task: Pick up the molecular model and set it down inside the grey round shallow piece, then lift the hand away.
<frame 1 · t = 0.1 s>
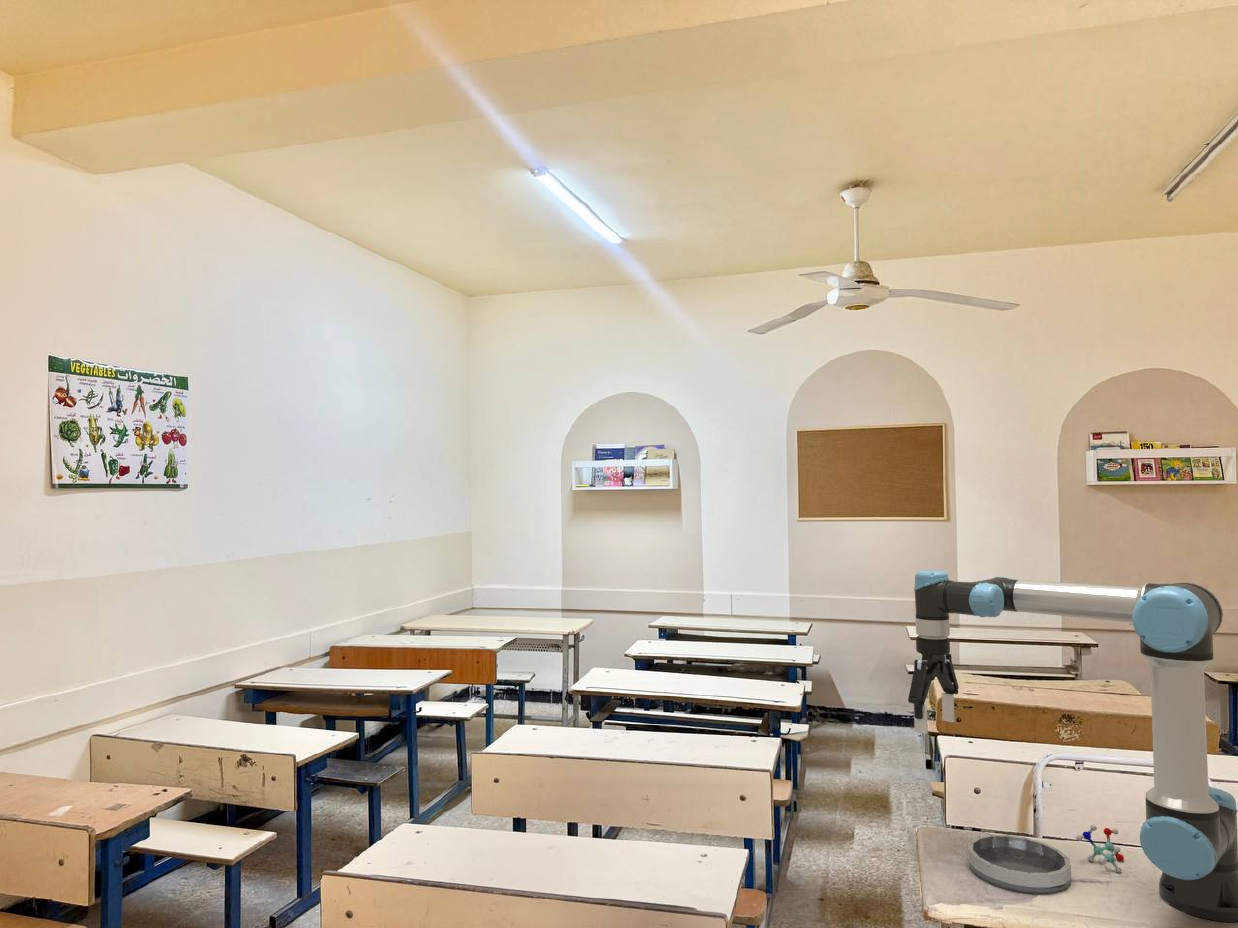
hand: (935, 726, 191), 28 cm above the table, tool pointing down, fingers open, 13 cm apart
grey round shallow piece: (1018, 872, 177), on the table
molecular model: (1102, 864, 181), on the table
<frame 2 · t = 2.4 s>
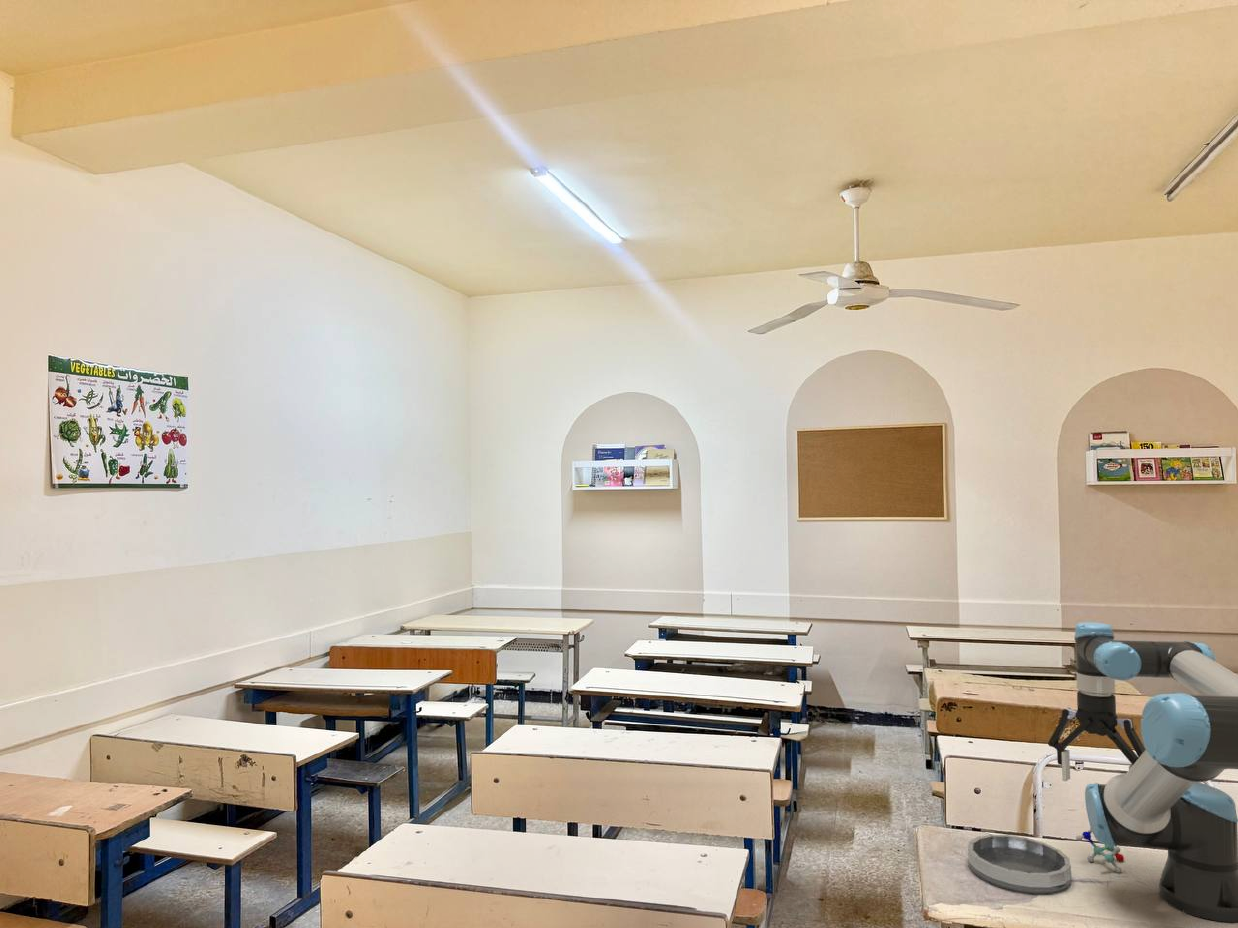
hand: (1099, 787, 182), 17 cm above the table, tool pointing down, fingers open, 13 cm apart
nothing on the table moved.
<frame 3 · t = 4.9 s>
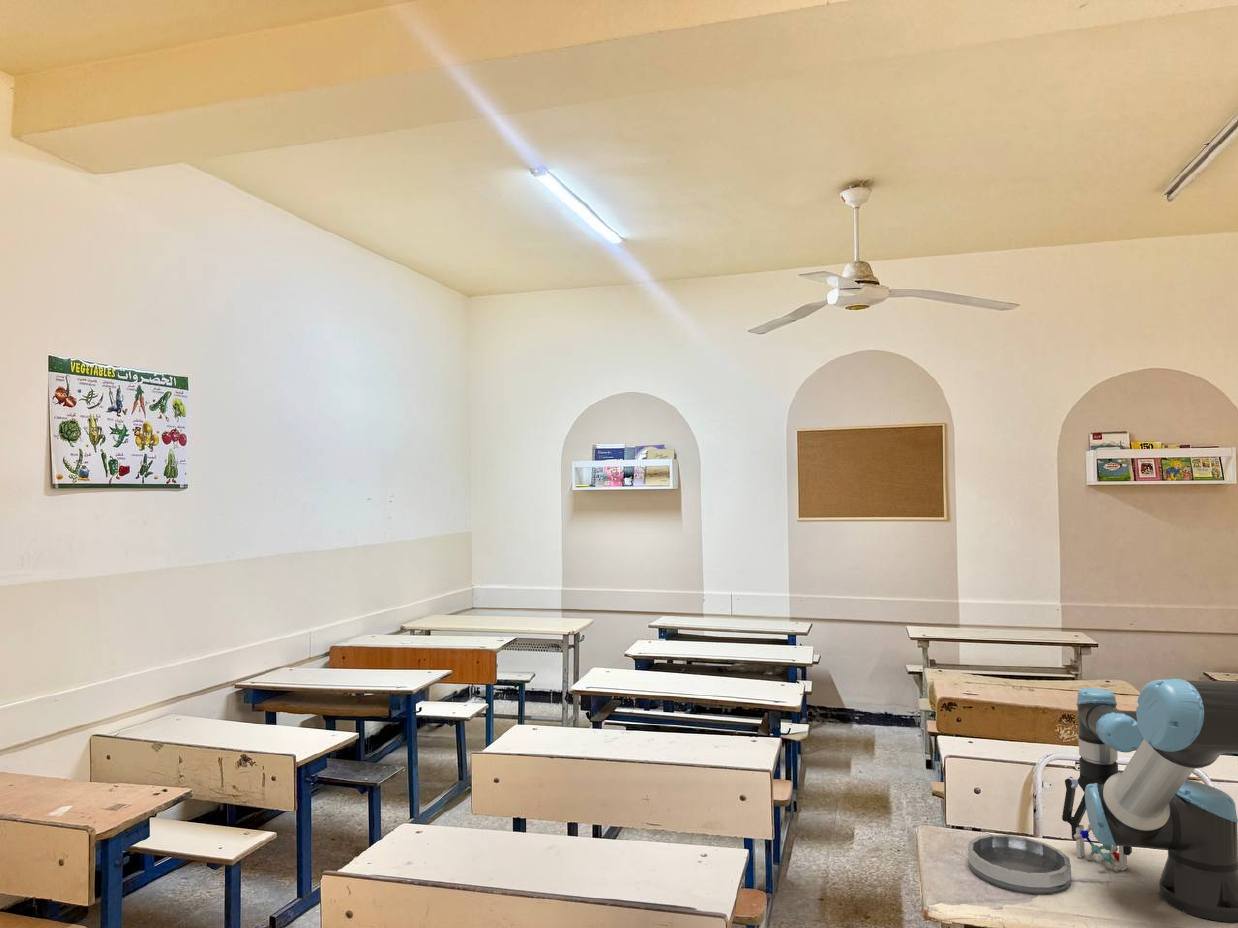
hand: (1101, 861, 181), 0 cm above the table, tool pointing down, fingers closed on molecular model, 8 cm apart
molecular model: (1099, 863, 181), on the table, touching gripper
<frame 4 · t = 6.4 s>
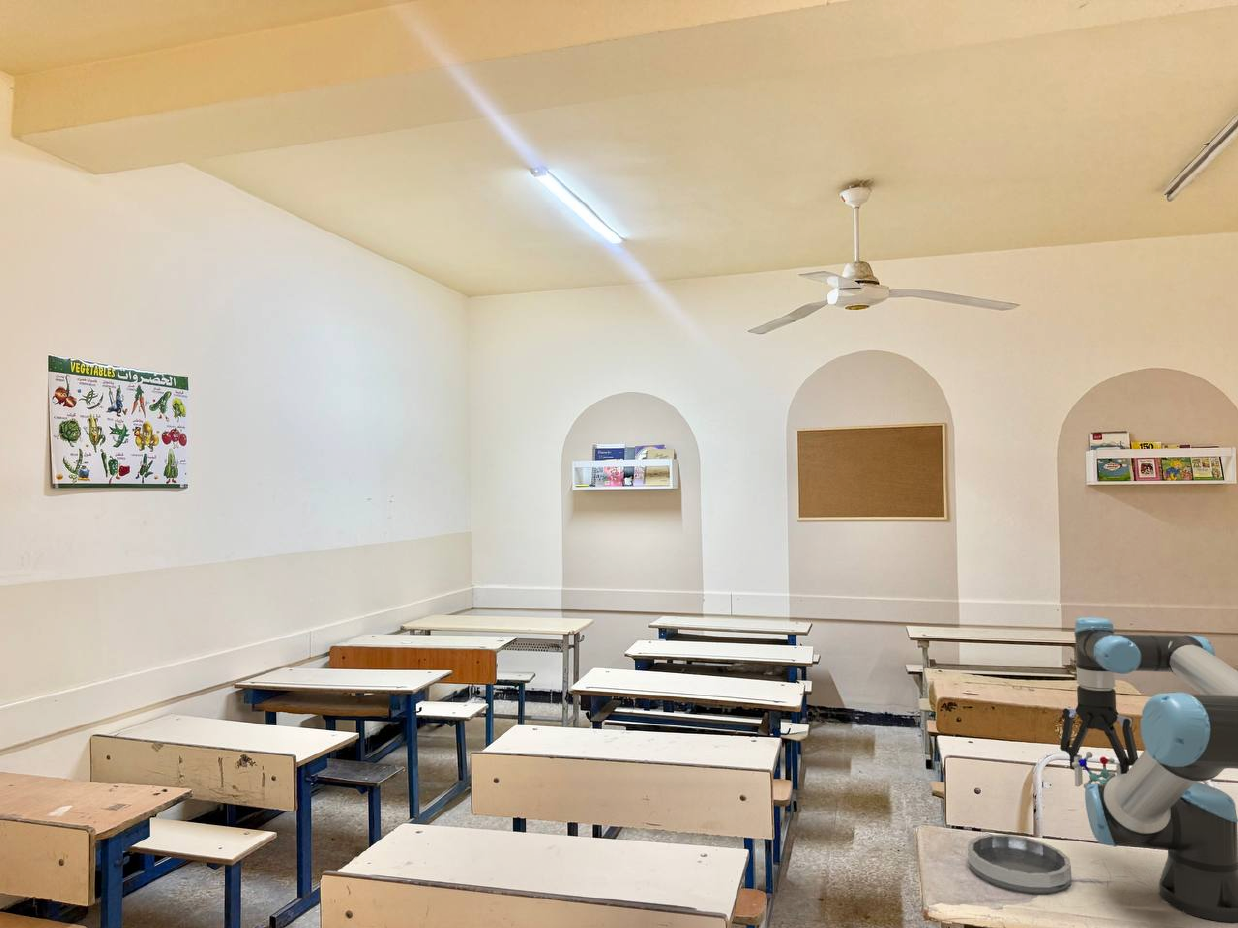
hand: (1099, 789, 181), 16 cm above the table, tool pointing down, fingers closed on molecular model, 8 cm apart
molecular model: (1097, 791, 182), point 16 cm above the table, touching gripper
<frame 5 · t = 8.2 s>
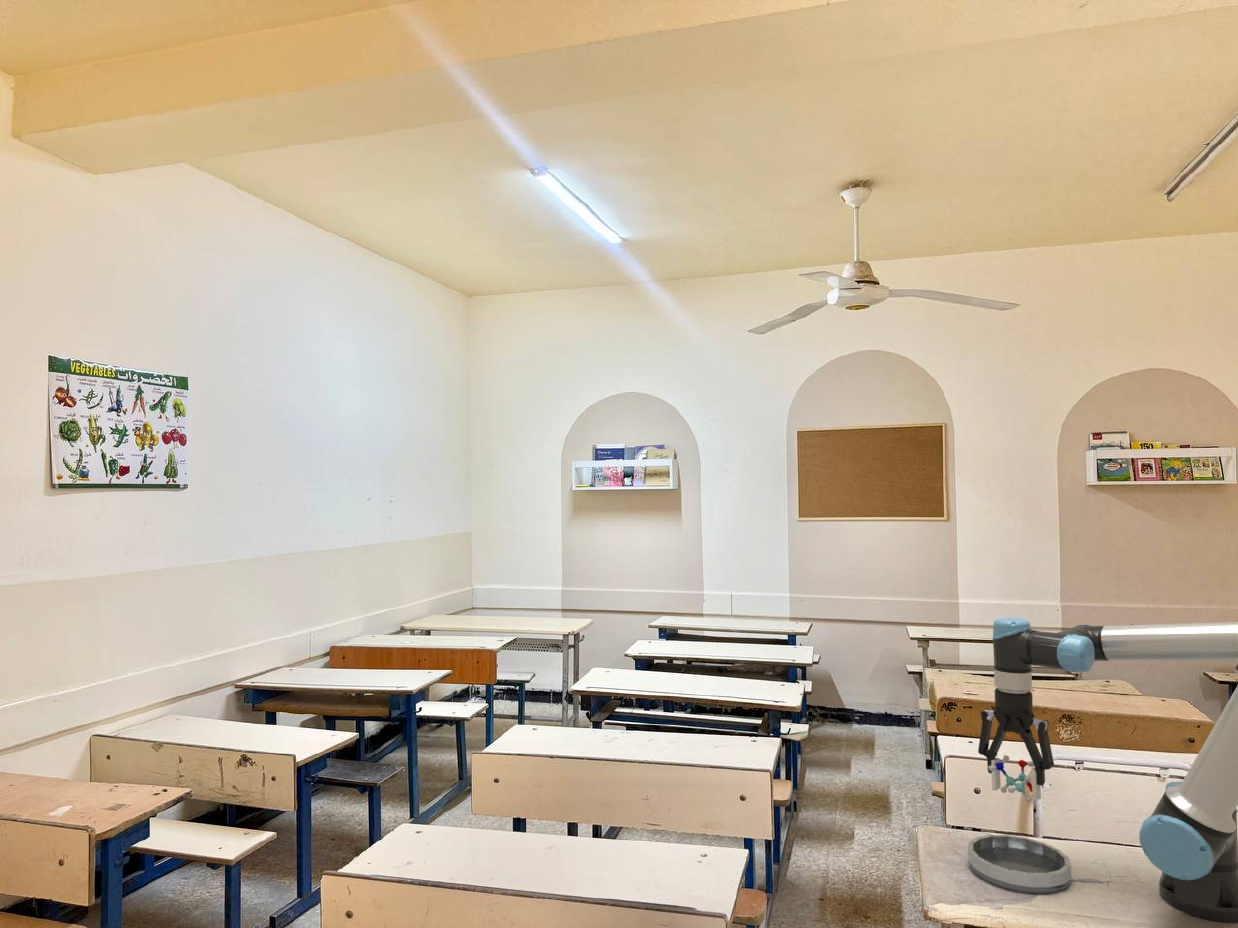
hand: (1016, 793, 178), 17 cm above the table, tool pointing down, fingers closed on molecular model, 8 cm apart
molecular model: (1014, 795, 178), point 17 cm above the table, touching gripper
when the fingers open (4 cm above the table, at t = 11.3 s): molecular model drops 2 cm, resting on grey round shallow piece.
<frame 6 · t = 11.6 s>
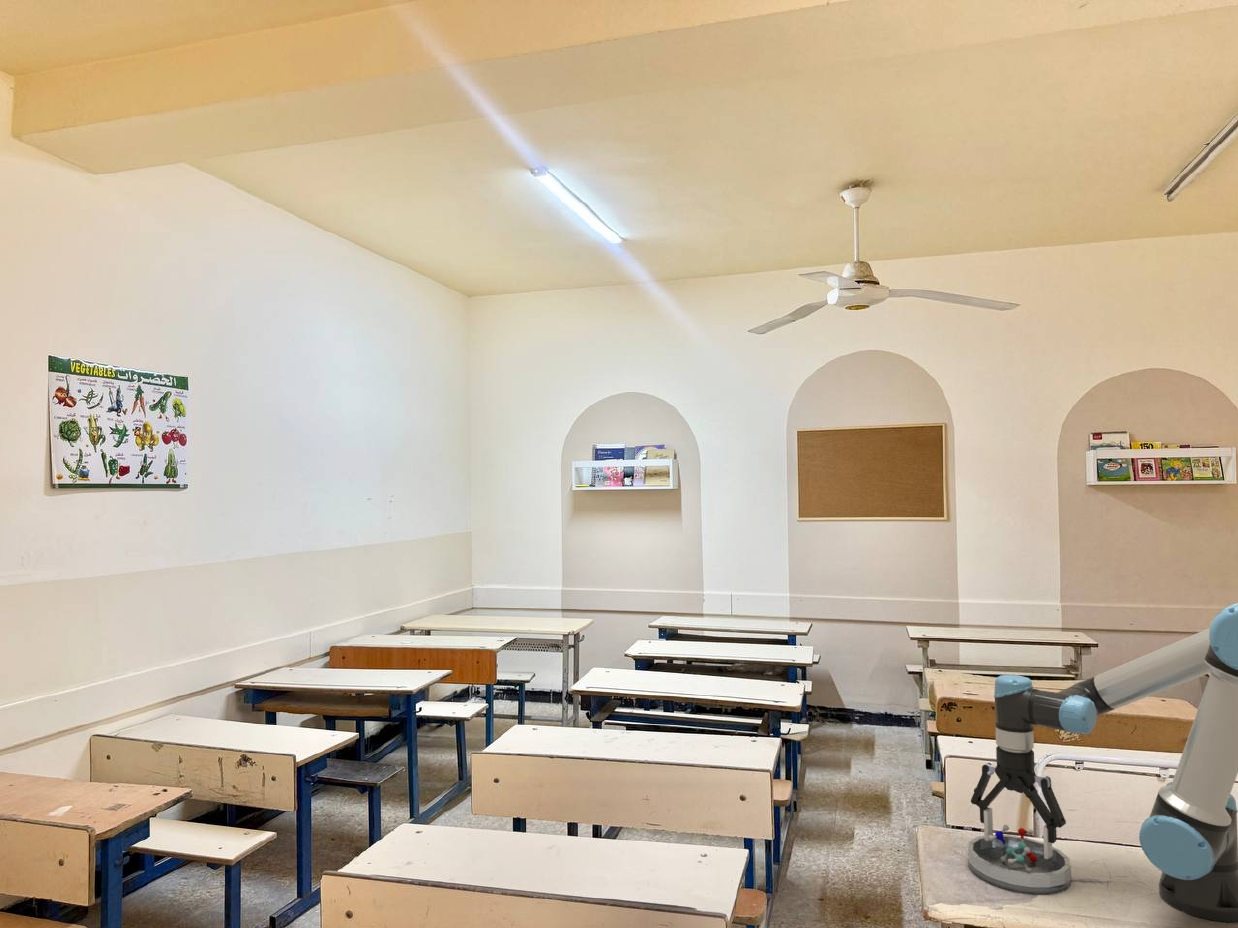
hand: (1017, 847, 177), 5 cm above the table, tool pointing down, fingers open, 12 cm apart
molecular model: (1014, 864, 178), point 1 cm above the table, touching grey round shallow piece
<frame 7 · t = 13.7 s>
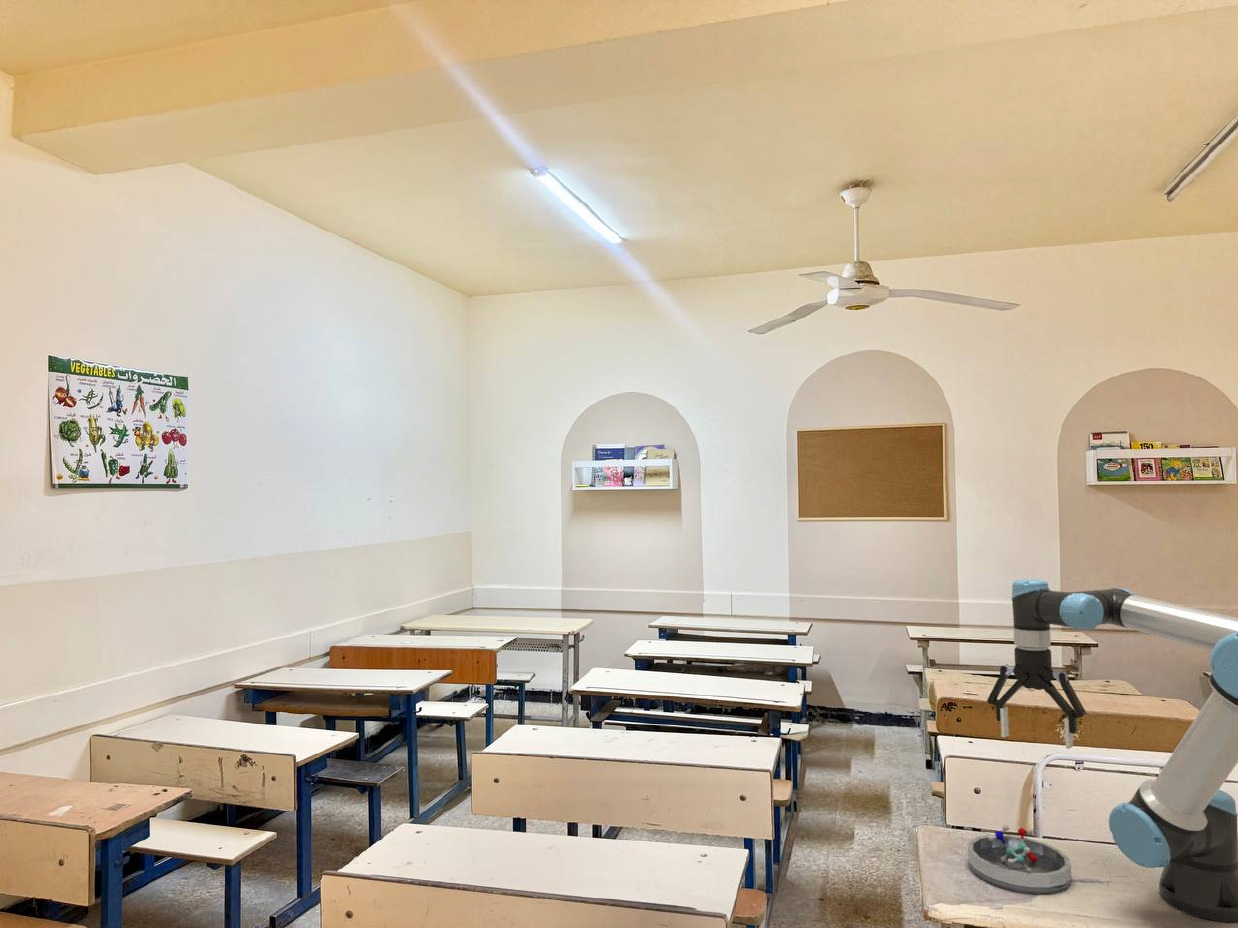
hand: (1036, 741, 184), 26 cm above the table, tool pointing down, fingers open, 13 cm apart
nothing on the table moved.
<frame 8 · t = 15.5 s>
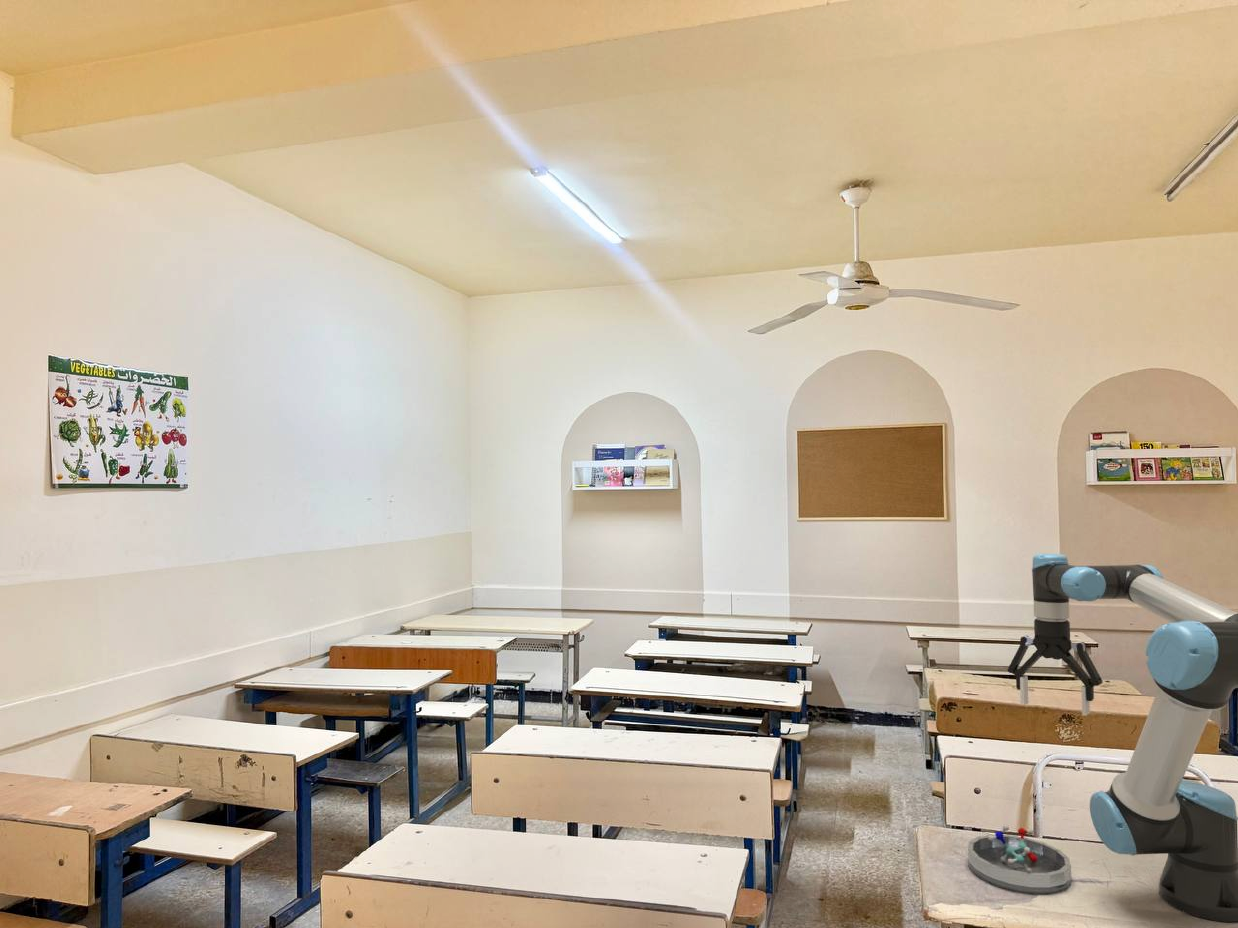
hand: (1054, 709, 192), 32 cm above the table, tool pointing down, fingers open, 13 cm apart
nothing on the table moved.
at the end: molecular model inside the target area on the grey round shallow piece (0.9 cm from its centre), point 1.3 cm above the grey round shallow piece's base; the gripper is holding nothing; molecular model tilted 0° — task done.
